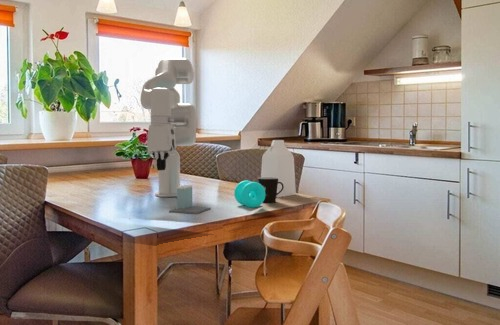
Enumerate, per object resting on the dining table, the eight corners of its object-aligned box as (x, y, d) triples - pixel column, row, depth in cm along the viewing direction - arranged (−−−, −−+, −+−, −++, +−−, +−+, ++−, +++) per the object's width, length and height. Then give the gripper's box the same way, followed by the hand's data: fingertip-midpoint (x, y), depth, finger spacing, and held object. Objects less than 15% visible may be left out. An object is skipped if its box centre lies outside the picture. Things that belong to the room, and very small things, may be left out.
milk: (278, 198, 211) (278, 140, 210) (260, 196, 220) (260, 140, 218) (295, 196, 220) (296, 140, 218) (277, 194, 228) (277, 140, 227)
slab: (185, 205, 183) (185, 185, 183) (192, 206, 182) (192, 185, 182) (177, 208, 177) (176, 186, 176) (184, 208, 176) (184, 187, 175)
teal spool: (242, 208, 180) (242, 182, 179) (233, 205, 189) (233, 180, 188) (266, 207, 184) (266, 181, 183) (256, 204, 193) (256, 179, 192)
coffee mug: (254, 201, 202) (254, 177, 201) (272, 200, 205) (272, 177, 205) (266, 204, 191) (266, 179, 191) (285, 203, 195) (285, 179, 194)
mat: (184, 207, 182) (184, 206, 182) (210, 209, 179) (210, 207, 179) (169, 212, 171) (169, 210, 171) (196, 213, 167) (196, 212, 167)
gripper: (183, 121, 179) (183, 170, 180) (148, 122, 184) (149, 169, 185) (173, 120, 172) (174, 171, 173) (138, 121, 177) (138, 170, 178)
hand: (161, 170), depth 179 cm, fingers closed
